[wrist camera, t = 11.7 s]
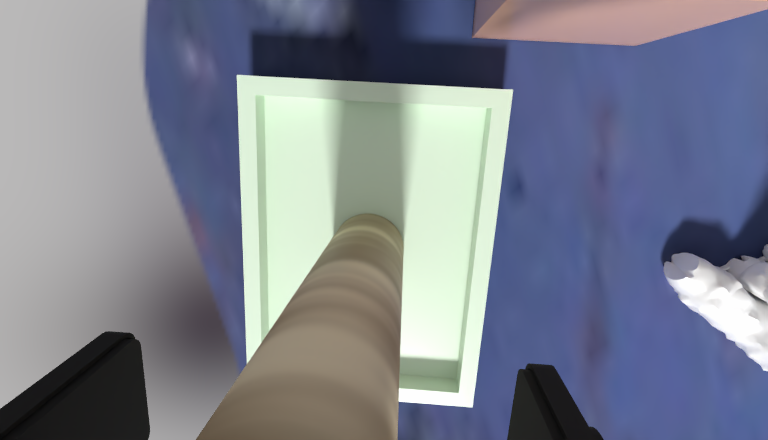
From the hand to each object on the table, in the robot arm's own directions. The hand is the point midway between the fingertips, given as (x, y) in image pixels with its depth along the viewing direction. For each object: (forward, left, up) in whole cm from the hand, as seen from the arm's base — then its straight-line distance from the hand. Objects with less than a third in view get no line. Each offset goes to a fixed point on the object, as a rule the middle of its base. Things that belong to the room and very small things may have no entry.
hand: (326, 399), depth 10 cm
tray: (0, 0, -12) cm, 12 cm away
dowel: (0, 0, -11) cm, 11 cm away
